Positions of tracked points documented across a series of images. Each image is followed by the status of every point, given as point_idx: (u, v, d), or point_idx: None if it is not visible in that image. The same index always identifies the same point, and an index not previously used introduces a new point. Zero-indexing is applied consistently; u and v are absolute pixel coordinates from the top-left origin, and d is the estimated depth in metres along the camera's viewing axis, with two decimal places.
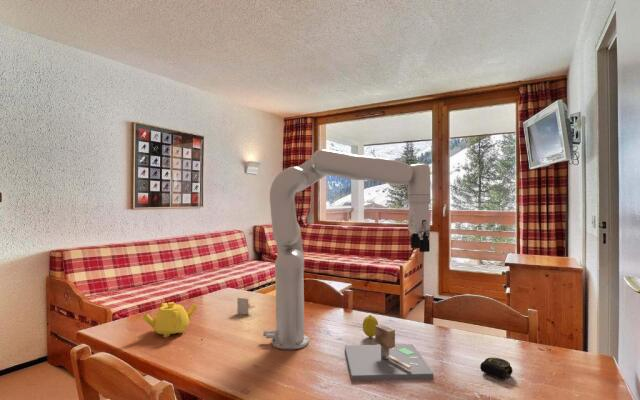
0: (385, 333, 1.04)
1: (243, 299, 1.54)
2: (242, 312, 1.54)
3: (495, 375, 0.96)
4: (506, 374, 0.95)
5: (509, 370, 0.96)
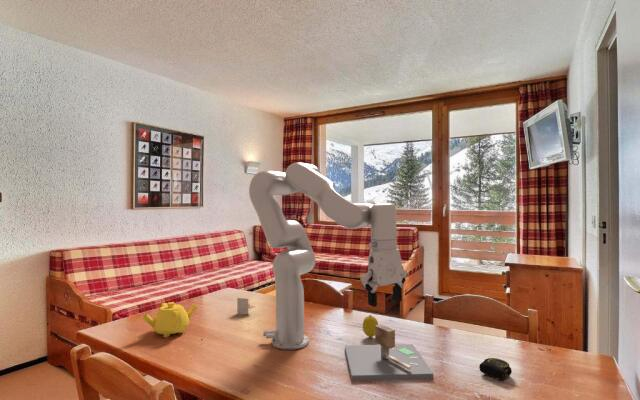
0: (385, 333, 1.04)
1: (243, 299, 1.54)
2: (242, 312, 1.54)
3: (494, 376, 0.96)
4: (505, 375, 0.95)
5: (508, 371, 0.96)
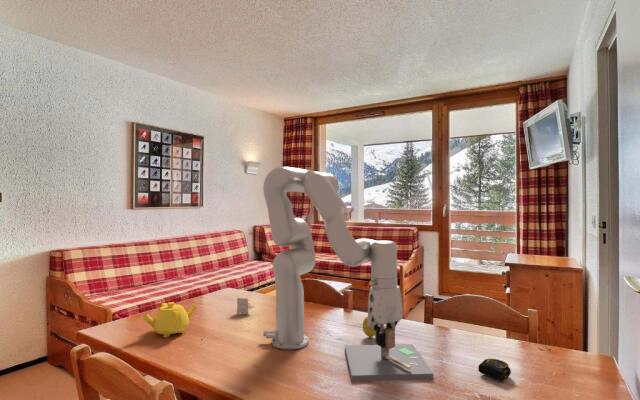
0: (385, 333, 1.04)
1: (243, 299, 1.54)
2: (242, 312, 1.54)
3: (493, 376, 0.95)
4: (504, 375, 0.95)
5: (507, 371, 0.95)
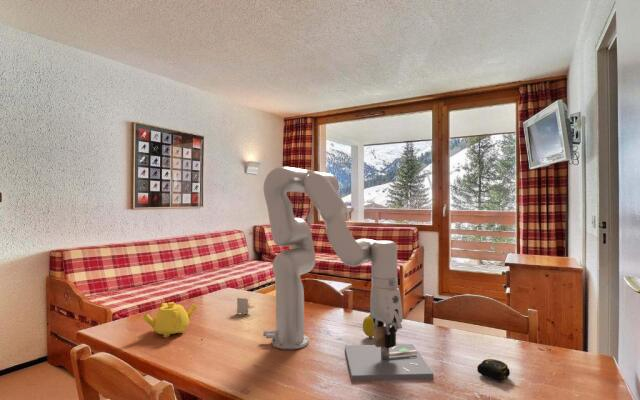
0: None
1: (243, 299, 1.54)
2: (242, 312, 1.54)
3: (492, 377, 0.95)
4: (503, 376, 0.94)
5: (506, 372, 0.95)
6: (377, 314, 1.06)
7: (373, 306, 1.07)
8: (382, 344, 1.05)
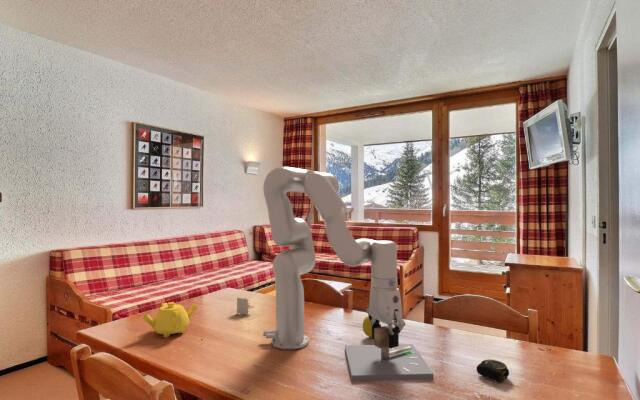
0: None
1: (243, 299, 1.54)
2: (242, 312, 1.54)
3: (491, 377, 0.95)
4: (502, 376, 0.94)
5: (506, 372, 0.95)
6: (377, 314, 1.06)
7: (373, 306, 1.07)
8: (384, 344, 1.05)
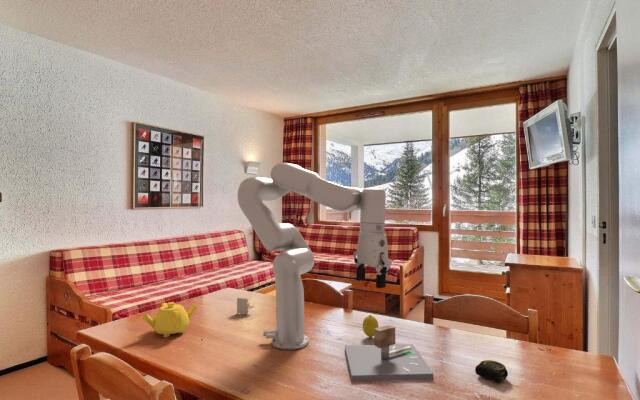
0: (391, 331, 1.06)
1: (242, 299, 1.54)
2: (241, 312, 1.54)
3: (490, 378, 0.94)
4: (501, 377, 0.94)
5: (504, 373, 0.94)
6: (363, 258, 1.10)
7: (360, 251, 1.11)
8: (384, 344, 1.05)
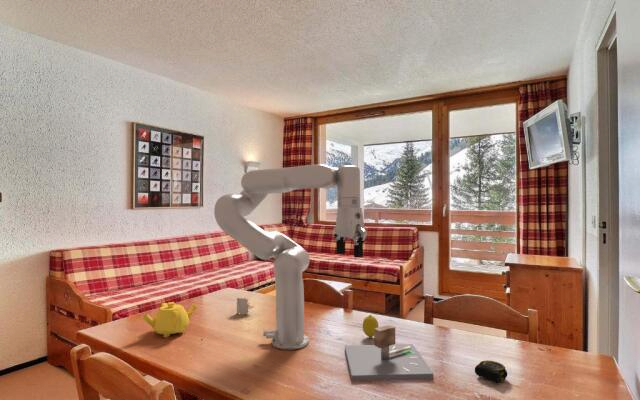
0: (391, 331, 1.06)
1: (242, 299, 1.54)
2: (241, 312, 1.54)
3: (489, 378, 0.94)
4: (501, 378, 0.93)
5: (504, 373, 0.94)
6: (342, 231, 1.18)
7: (339, 225, 1.19)
8: (384, 344, 1.05)
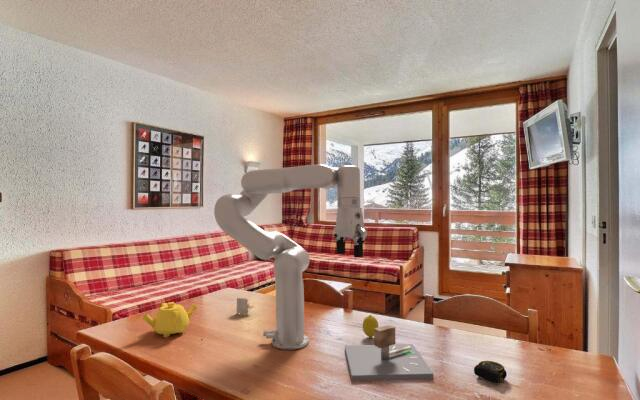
0: (391, 331, 1.06)
1: (242, 299, 1.54)
2: (241, 312, 1.54)
3: (489, 379, 0.94)
4: (500, 378, 0.93)
5: (503, 374, 0.94)
6: (342, 231, 1.18)
7: (338, 225, 1.19)
8: (384, 344, 1.05)
